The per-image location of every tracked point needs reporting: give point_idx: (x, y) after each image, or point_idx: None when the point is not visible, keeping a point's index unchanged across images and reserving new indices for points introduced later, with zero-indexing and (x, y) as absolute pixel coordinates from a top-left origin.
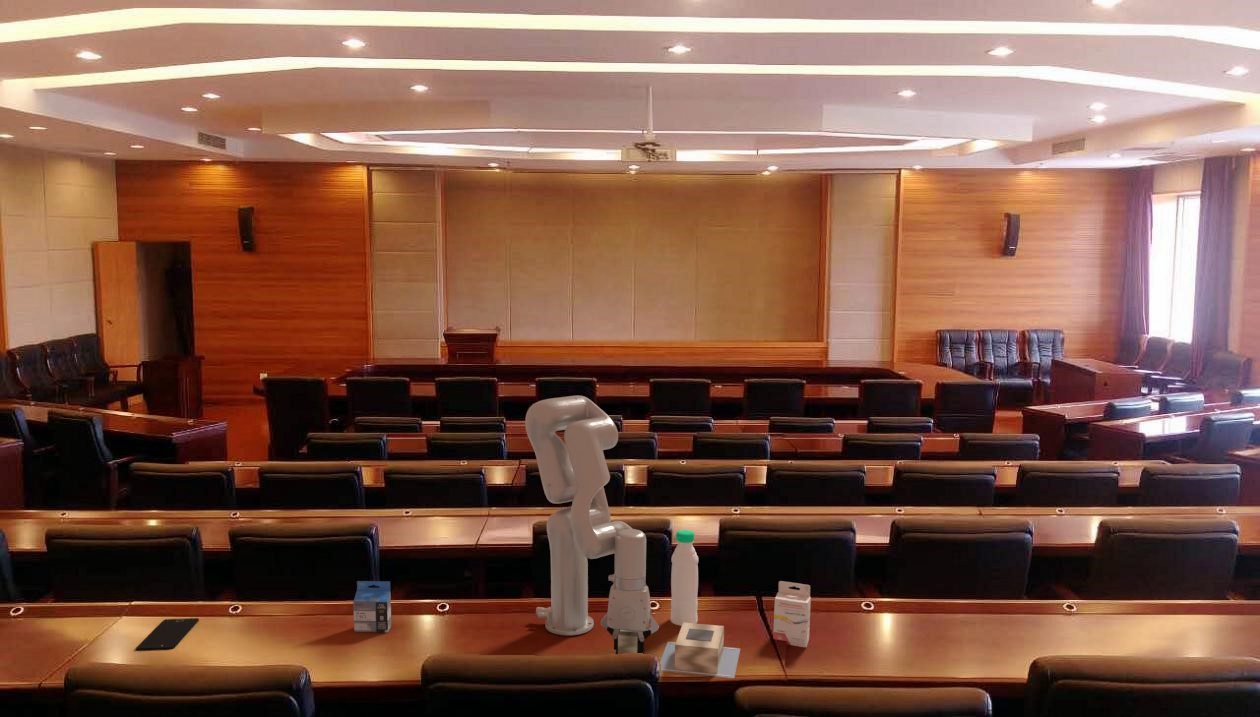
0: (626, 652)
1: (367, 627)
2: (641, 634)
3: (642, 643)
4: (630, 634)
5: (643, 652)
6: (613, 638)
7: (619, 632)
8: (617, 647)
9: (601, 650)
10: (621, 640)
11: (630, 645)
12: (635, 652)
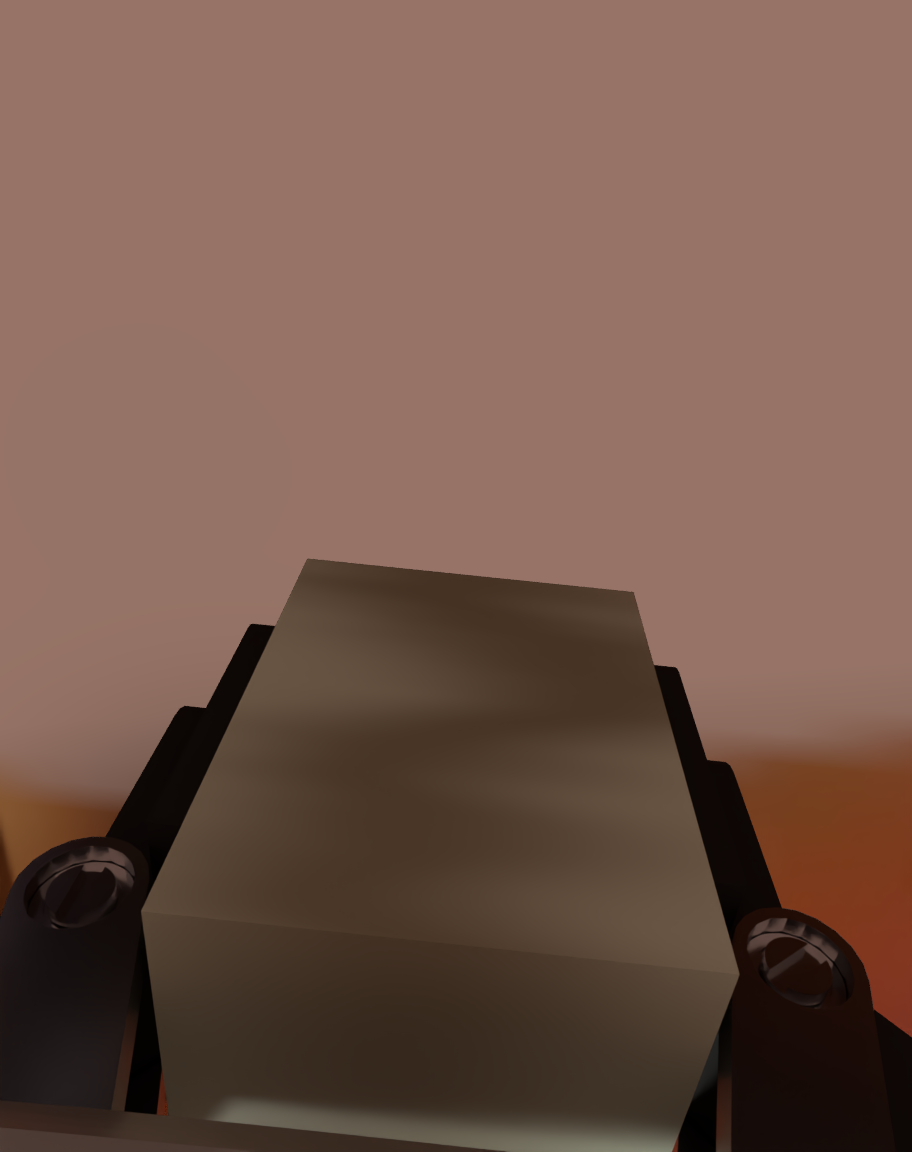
0: (479, 646)
1: None
2: (23, 1012)
3: (132, 828)
4: (365, 1016)
5: (186, 710)
6: (814, 922)
7: (693, 1087)
8: None
9: (888, 824)
10: (609, 837)
11: (380, 739)
12: (293, 637)
